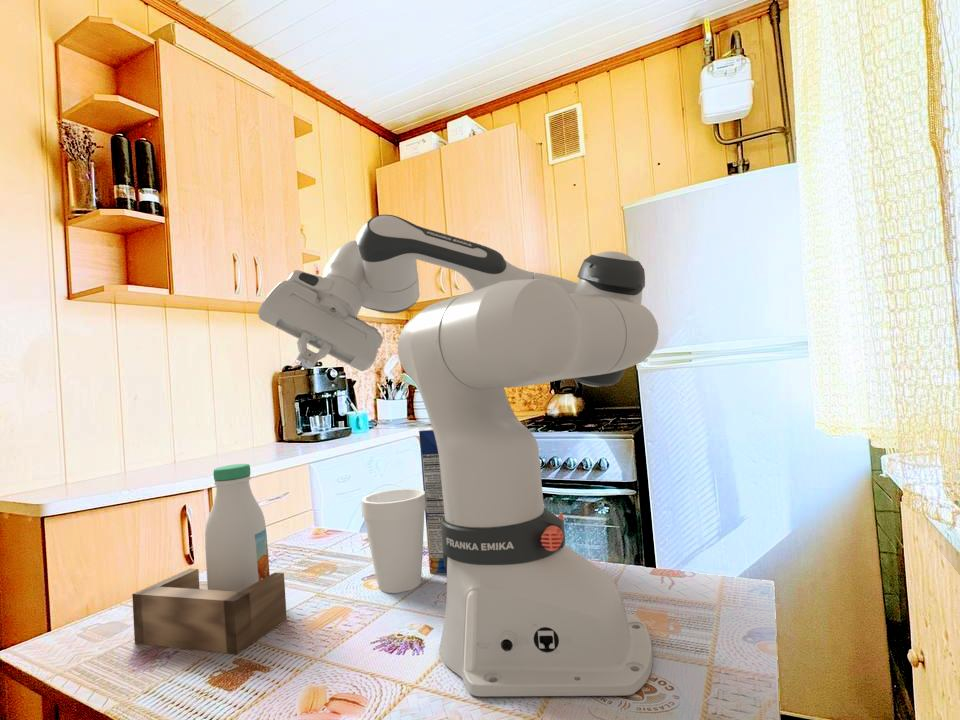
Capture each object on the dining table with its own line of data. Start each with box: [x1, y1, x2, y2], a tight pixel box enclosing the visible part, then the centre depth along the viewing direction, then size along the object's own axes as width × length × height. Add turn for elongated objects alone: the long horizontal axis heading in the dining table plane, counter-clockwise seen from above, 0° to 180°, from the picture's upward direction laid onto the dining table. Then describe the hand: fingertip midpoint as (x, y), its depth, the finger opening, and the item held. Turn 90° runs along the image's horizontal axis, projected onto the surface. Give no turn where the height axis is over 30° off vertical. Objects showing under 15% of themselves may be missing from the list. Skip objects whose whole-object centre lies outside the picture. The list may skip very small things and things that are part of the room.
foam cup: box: [360, 487, 426, 594], centre depth 74 cm, size 10×9×13 cm
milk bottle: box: [204, 463, 271, 592], centre depth 69 cm, size 8×8×20 cm
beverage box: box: [418, 426, 447, 574], centre depth 82 cm, size 7×11×22 cm, turn 167°
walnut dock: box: [131, 568, 288, 655], centre depth 64 cm, size 16×8×6 cm, turn 72°
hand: (305, 361), depth 80 cm, fingers closed
